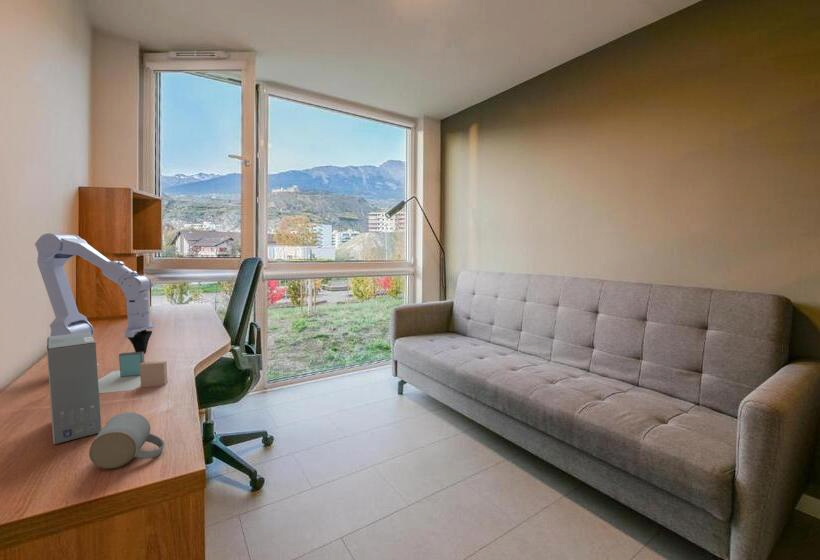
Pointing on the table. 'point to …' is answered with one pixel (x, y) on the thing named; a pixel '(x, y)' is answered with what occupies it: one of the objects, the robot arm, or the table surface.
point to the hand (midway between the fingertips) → (141, 354)
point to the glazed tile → (130, 363)
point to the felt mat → (118, 382)
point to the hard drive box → (73, 386)
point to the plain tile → (153, 373)
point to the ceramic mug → (123, 441)
